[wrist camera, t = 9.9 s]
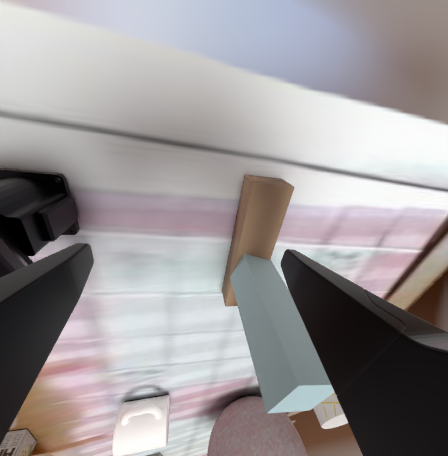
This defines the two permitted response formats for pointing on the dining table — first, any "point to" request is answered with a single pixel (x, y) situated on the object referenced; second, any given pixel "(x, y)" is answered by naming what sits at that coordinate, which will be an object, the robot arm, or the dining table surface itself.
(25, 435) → the coffee box
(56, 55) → the dining table surface
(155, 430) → the mug
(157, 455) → the dice cube
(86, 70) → the dining table surface
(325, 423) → the white cylinder
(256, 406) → the plant pot
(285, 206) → the beam
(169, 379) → the dining table surface
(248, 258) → the post
